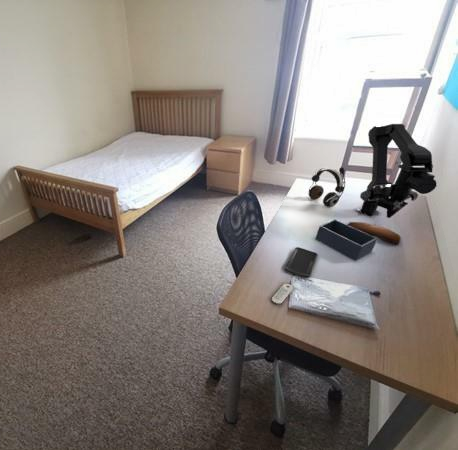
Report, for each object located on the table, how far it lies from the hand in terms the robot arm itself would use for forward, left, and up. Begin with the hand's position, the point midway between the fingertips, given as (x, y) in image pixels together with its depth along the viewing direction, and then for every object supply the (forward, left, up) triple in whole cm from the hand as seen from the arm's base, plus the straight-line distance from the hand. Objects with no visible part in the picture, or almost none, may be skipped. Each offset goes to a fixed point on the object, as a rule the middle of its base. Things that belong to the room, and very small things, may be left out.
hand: (388, 217), depth 115 cm
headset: (+1, -28, -5) cm, 28 cm away
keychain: (+67, +5, -5) cm, 68 cm away
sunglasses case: (+9, 0, -5) cm, 11 cm away
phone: (+49, -2, -5) cm, 50 cm away
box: (+27, -1, -5) cm, 28 cm away
